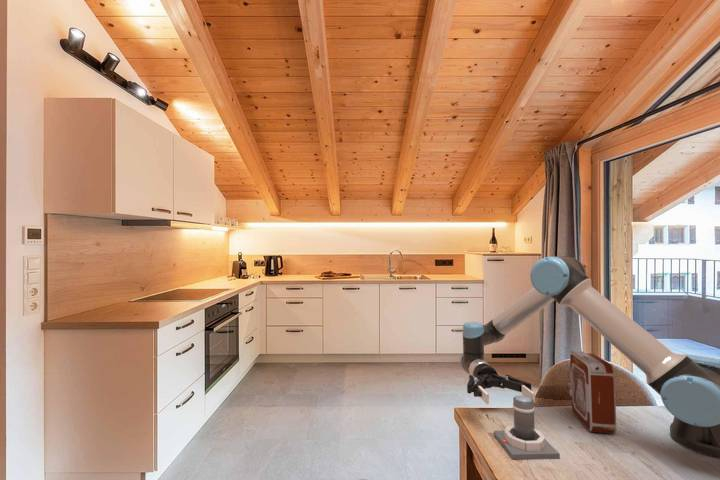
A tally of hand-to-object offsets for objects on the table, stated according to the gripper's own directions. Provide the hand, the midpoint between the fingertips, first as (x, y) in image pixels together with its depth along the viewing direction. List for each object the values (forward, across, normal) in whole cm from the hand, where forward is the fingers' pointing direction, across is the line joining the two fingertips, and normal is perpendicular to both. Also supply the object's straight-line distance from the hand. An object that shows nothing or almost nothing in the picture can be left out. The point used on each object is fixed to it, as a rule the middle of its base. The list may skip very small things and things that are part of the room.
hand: (510, 398), depth 103 cm
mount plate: (+8, 0, -9) cm, 12 cm away
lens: (+8, 0, -8) cm, 11 cm away
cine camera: (-6, -27, -10) cm, 30 cm away
